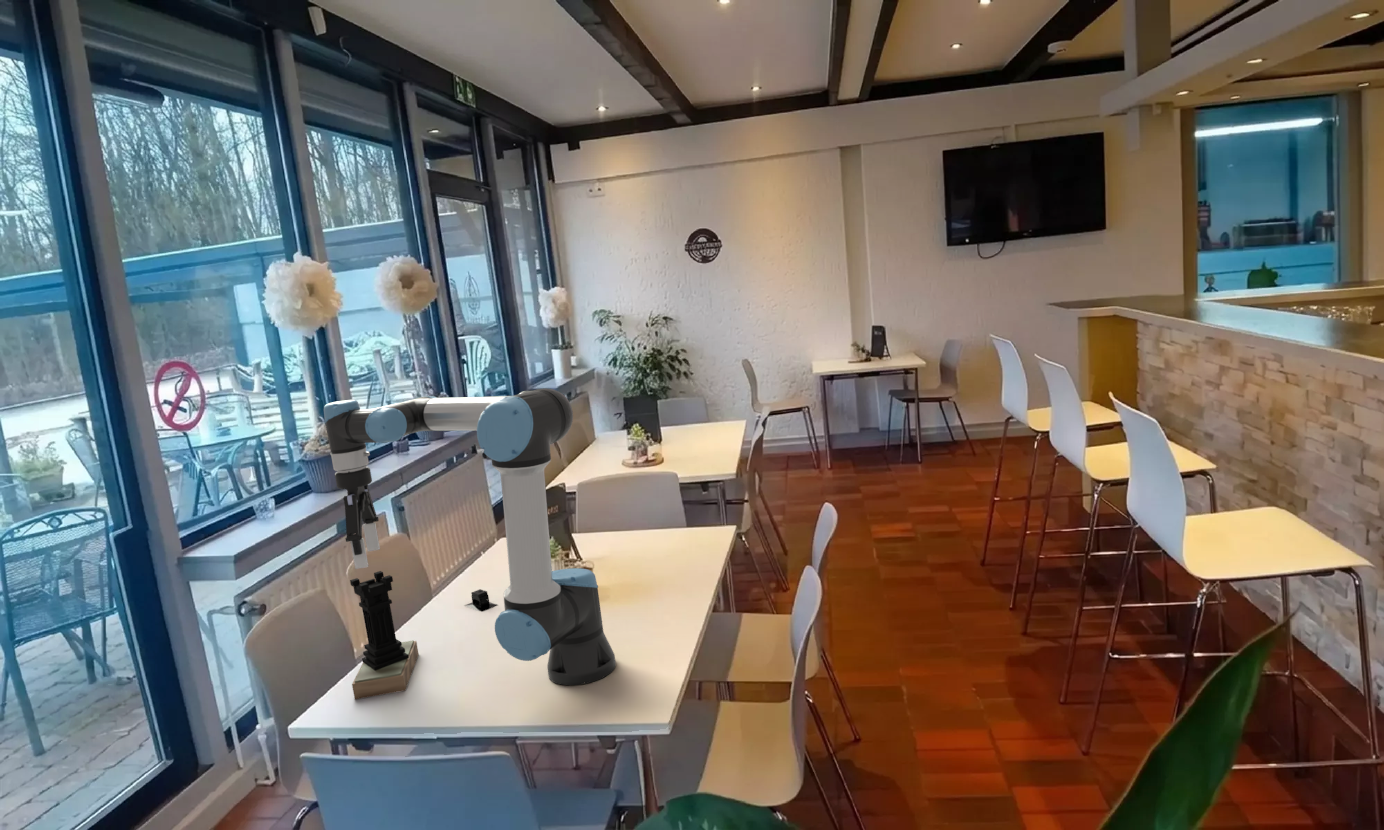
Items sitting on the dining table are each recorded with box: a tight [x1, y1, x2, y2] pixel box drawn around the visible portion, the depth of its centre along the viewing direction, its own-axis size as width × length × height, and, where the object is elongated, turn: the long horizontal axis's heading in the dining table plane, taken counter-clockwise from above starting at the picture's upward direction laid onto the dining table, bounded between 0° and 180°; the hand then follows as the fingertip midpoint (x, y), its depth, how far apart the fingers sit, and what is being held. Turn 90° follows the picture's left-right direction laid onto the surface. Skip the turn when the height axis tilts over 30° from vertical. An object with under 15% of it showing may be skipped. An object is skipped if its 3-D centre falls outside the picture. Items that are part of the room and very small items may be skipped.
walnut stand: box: [351, 639, 419, 700], centre depth 201 cm, size 20×11×4 cm, turn 10°
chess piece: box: [349, 570, 409, 671], centre depth 200 cm, size 8×8×20 cm
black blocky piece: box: [464, 589, 499, 613], centre depth 242 cm, size 12×7×5 cm, turn 46°
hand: (368, 558), depth 197 cm, fingers open, 13 cm apart
